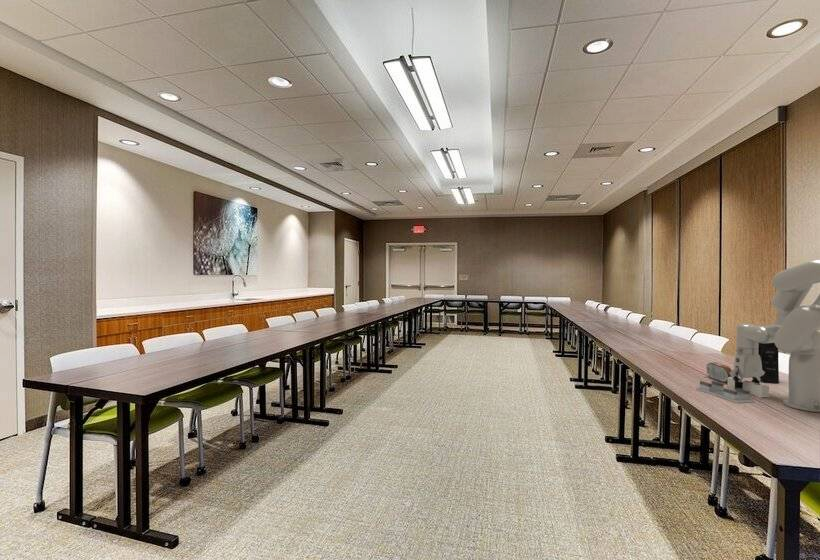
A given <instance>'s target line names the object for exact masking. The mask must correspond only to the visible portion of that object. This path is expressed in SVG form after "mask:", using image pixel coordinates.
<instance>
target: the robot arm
mask: <svg viewBox="0 0 820 560" xmlns="http://www.w3.org/2000/svg"><path fill="white" fill-rule="evenodd" d="M818 283H820V259H813V260H809V261H807V262H803V263H801V264H800V263H799V264H798V265H795V266H792V267H789V268H786V269H784V270H781V271H779V272H776V274H774V276H773V278H772V280H771V284H772V287H773V288H774V289H775V290H777V291H776V292H775V295H774V296H773V298H772V300H771V301H770V304H771V306H772V307H773V308H775V309H776V311H777V316H776V318H775V320H774V321H773V323H772V324H770V325H756V324H752V323H738V324H737V326H736V349H735V352H736V353H735V355H734V361H733V369H731V370H732V371H731V372H730V375H731V376H732V378H733V380H734V381H735V389H734V391H736V388H740V389H743V382H741V381H742V380H744V378H752V379H751V382H754V383H758V384H761V383H760V382H761V378H762V377H763V375H764V373H765V372H764V371H763V370H762V363H761V358H760V355H758V343H775V345H776V347H777V348H778V351H781V352H783V353H786V354H789V357H788V399H787V398H786V399H784V400H783V402H782V403H783V404H784V406H787V407H790V408H792V409H796V410H801V411H805V412H811V413H812V412H815V413H820V293H819V294H818V296H817V297H816V299H815V300H814V301H813V303H811V304H810V305H801V304H802V303H803V301H804V300H805V299H806V296H807V295H808V294H809V292H810V290H811V288H812V287H813V285H814V284H818Z"/></svg>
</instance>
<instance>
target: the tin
mask: <svg viewBox="0 0 820 560" xmlns="http://www.w3.org/2000/svg"><path fill="white" fill-rule="evenodd" d="M732 370H733V369H732V368H731V367H729V365H725V364H722V363H719V362H709V363H707V364H706V373H707V375H708V376H709V378H710V379H712V380H714V381H717V382H720V381H721V382H720V383H723V382H724V383H725V384H728V377H732V376H731V375H730V372H731V371H732Z"/></svg>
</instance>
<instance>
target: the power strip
mask: <svg viewBox="0 0 820 560" xmlns="http://www.w3.org/2000/svg"><path fill="white" fill-rule="evenodd" d="M751 381H752V380H751ZM751 381H750V380H748V379H747V380H746V379H743V380H742V381H741V382H743V389H744V390H747V391H750V395H751V394H753V395H752V396H754V395H757V396H756V397H758V396H760V397H759V398H761V397H768V398H770V386H768V385H765V384H761V383H760V384H758V383H754V382H751ZM728 387H730V388H729V389H731V388H733V389H732V390H735V381H734V380H733V378H732V377H728V383H727V388H728Z"/></svg>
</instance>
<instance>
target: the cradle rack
mask: <svg viewBox="0 0 820 560" xmlns="http://www.w3.org/2000/svg"><path fill="white" fill-rule="evenodd" d="M724 386H725V385H724V383H723V382H720V381H718V380H711V382H706V381H703V380H699V386H696V388H695V389H696V391H700V392H703V393H705V394H708V395H712V396H714V395H715V397H717V396H719V397H718V398H720V397H721V399H723V398H724V399H723V400H726V399H727V400H726V401H729V400H730V402H732V401H733V403H735V402H736V404H744V403H743V402H750V403H755V399H752V398H751V397H750V396H751V394H750V391H747V390H744V389H740V388H736V390H734V389H730V388H725V387H724Z"/></svg>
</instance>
